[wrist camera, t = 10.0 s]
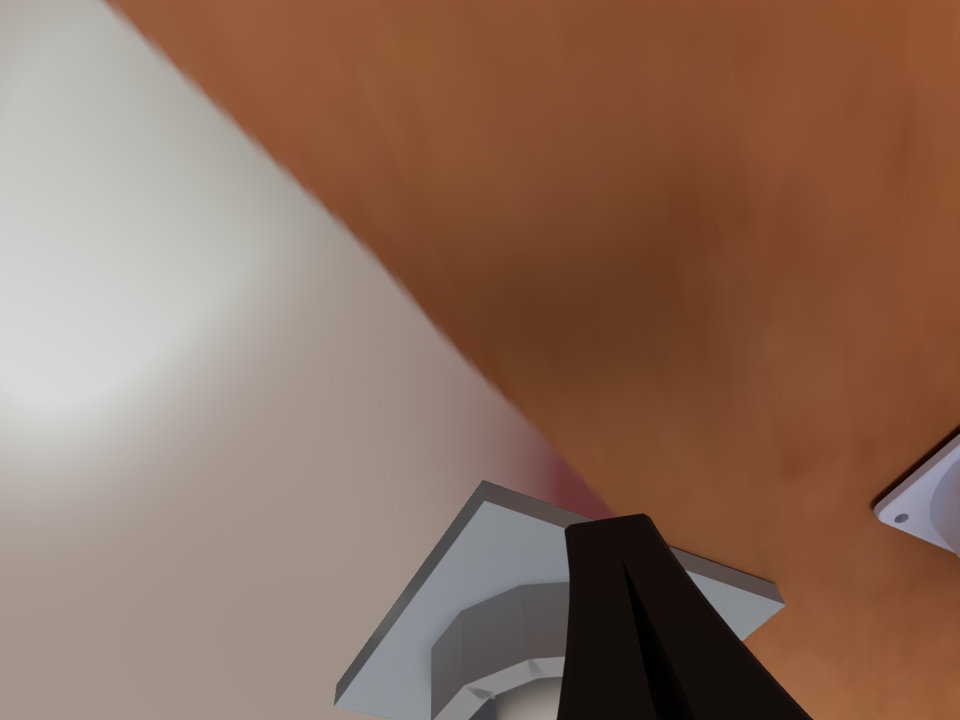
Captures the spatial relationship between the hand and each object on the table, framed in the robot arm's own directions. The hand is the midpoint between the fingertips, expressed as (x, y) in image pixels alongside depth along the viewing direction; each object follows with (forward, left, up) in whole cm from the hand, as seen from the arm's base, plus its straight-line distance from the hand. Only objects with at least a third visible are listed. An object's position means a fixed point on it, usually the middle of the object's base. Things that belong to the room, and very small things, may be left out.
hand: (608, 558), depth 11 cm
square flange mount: (-9, +14, -9) cm, 19 cm away
